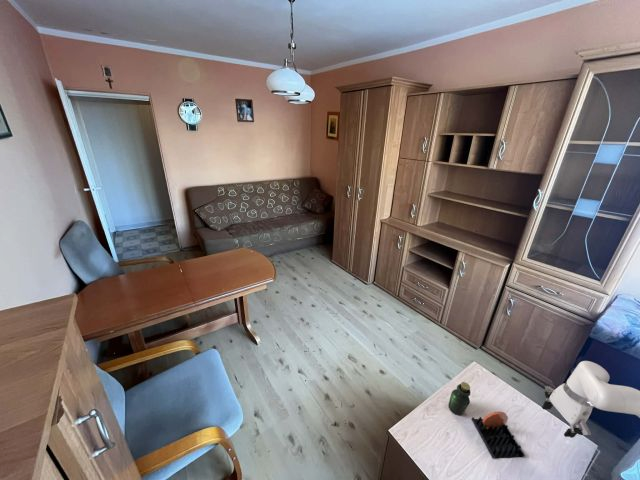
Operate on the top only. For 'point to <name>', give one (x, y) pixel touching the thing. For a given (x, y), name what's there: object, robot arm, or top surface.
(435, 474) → the top surface
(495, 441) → the rack
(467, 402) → the potion bottle
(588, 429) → the robot arm
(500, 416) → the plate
